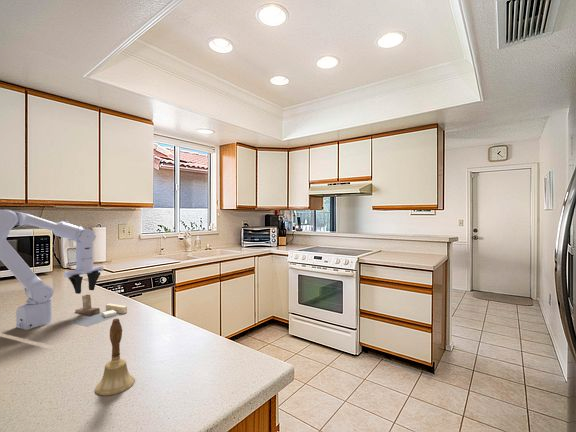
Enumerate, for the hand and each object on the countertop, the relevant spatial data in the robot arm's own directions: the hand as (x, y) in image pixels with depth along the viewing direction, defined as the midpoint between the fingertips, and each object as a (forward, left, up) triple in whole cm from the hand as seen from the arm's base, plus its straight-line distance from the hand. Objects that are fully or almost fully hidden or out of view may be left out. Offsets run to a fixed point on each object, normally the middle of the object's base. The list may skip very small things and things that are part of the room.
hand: (85, 291), depth 120 cm
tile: (+1, -12, -8) cm, 15 cm away
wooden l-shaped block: (0, -2, -9) cm, 9 cm away
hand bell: (-31, -56, -10) cm, 65 cm away
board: (-2, -11, -9) cm, 15 cm away
